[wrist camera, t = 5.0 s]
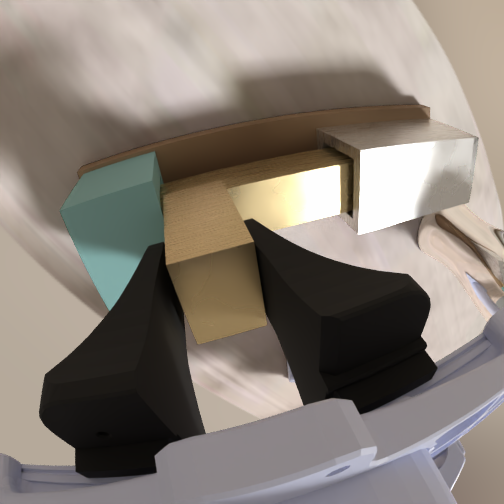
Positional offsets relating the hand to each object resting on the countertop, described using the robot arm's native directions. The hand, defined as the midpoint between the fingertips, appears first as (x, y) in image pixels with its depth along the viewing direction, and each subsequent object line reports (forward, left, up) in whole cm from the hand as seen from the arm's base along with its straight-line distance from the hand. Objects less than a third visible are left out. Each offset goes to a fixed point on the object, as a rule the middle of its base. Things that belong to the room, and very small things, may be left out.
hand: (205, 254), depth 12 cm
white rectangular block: (0, -12, -6) cm, 13 cm away
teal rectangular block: (0, +3, -6) cm, 7 cm away
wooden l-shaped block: (0, -3, -5) cm, 6 cm away
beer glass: (-8, -20, -7) cm, 23 cm away
